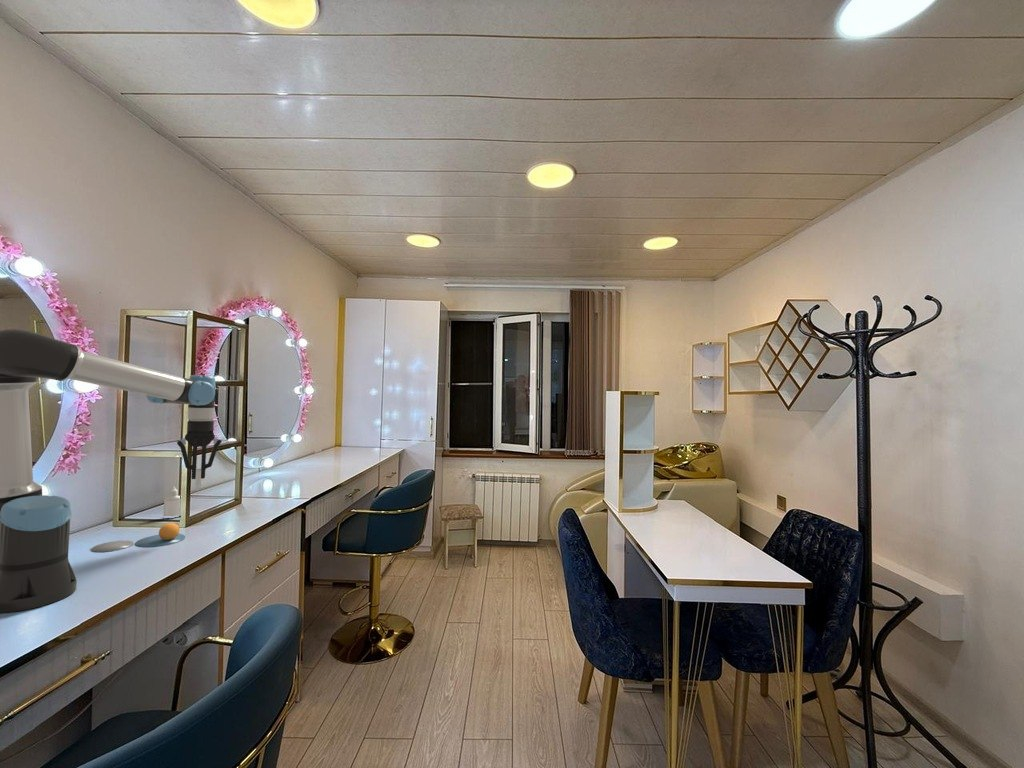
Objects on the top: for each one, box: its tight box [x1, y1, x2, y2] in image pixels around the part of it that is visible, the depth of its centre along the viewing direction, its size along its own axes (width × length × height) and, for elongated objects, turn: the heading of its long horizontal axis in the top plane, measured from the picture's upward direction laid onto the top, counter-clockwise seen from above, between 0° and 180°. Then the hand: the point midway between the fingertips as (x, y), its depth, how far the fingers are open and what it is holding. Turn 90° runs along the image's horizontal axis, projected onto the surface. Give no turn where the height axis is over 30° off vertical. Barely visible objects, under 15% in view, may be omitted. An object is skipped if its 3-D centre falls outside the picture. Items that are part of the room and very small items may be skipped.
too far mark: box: [90, 540, 134, 553], centre depth 142 cm, size 10×10×1 cm
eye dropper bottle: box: [163, 486, 181, 517], centre depth 174 cm, size 4×6×12 cm
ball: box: [158, 522, 180, 540], centre depth 150 cm, size 6×6×6 cm
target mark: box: [135, 533, 186, 548], centre depth 149 cm, size 13×13×1 cm
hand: (197, 488), depth 154 cm, fingers closed
